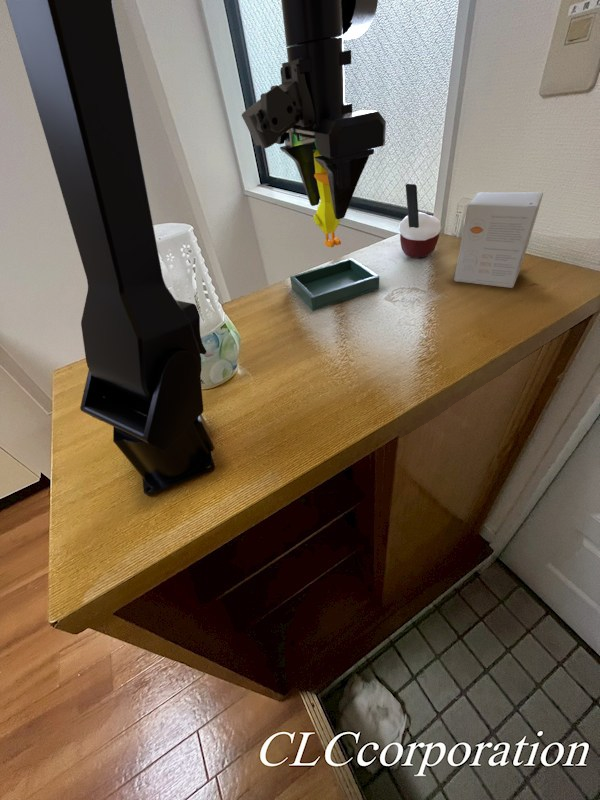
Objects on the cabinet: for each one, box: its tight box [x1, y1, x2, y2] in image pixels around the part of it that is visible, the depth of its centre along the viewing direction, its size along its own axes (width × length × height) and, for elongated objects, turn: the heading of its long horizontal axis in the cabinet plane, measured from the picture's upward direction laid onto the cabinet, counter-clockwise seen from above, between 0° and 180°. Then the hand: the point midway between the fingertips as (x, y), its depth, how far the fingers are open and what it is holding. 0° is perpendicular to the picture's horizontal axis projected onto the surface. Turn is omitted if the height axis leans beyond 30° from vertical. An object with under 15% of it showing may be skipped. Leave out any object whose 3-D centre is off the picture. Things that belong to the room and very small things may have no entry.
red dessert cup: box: [398, 183, 442, 259], centre depth 55 cm, size 10×6×12 cm, turn 119°
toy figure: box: [313, 140, 342, 248], centre depth 43 cm, size 7×4×12 cm, turn 28°
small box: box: [454, 191, 544, 289], centre depth 47 cm, size 8×6×10 cm
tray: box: [289, 257, 380, 312], centre depth 54 cm, size 11×9×2 cm
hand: (326, 211), depth 45 cm, fingers closed on toy figure, 7 cm apart
